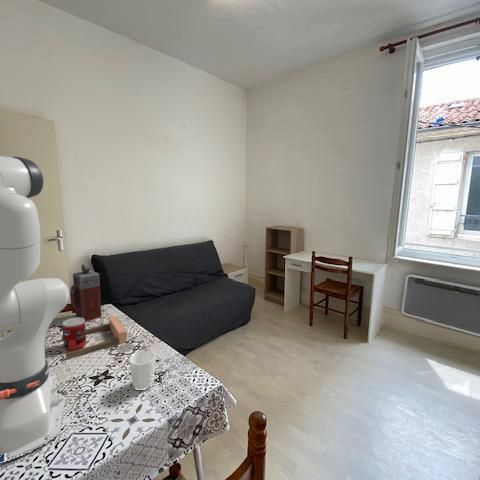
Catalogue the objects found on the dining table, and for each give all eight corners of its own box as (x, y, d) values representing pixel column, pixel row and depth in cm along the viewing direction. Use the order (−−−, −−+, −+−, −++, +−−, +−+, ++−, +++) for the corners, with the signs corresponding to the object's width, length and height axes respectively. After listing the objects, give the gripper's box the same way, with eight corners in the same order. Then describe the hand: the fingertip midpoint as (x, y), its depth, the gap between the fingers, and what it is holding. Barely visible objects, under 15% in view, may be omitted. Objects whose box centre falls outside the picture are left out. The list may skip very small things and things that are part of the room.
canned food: (65, 343, 114) (63, 318, 112) (87, 339, 117) (85, 315, 115) (62, 353, 107) (60, 327, 105) (85, 348, 110) (83, 323, 108)
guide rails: (119, 344, 114) (119, 339, 114) (66, 359, 103) (66, 354, 102) (109, 327, 128) (109, 323, 127) (61, 339, 116) (61, 335, 116)
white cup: (129, 394, 86) (128, 366, 84) (132, 378, 94) (131, 352, 92) (155, 390, 88) (154, 362, 86) (155, 374, 96) (155, 349, 94)
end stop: (126, 342, 116) (126, 331, 115) (119, 344, 114) (118, 333, 113) (116, 325, 130) (115, 315, 129) (109, 327, 128) (108, 317, 127)
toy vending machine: (70, 318, 135) (66, 264, 131) (94, 311, 144) (90, 260, 139) (78, 324, 130) (73, 268, 125) (101, 316, 138) (98, 264, 134)
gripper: (-41, 283, 80) (6, 307, 88) (-30, 267, 96) (9, 288, 104) (-61, 301, 78) (-11, 323, 86) (-46, 282, 94) (-5, 302, 102)
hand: (0, 304), depth 95 cm, fingers open, 3 cm apart
